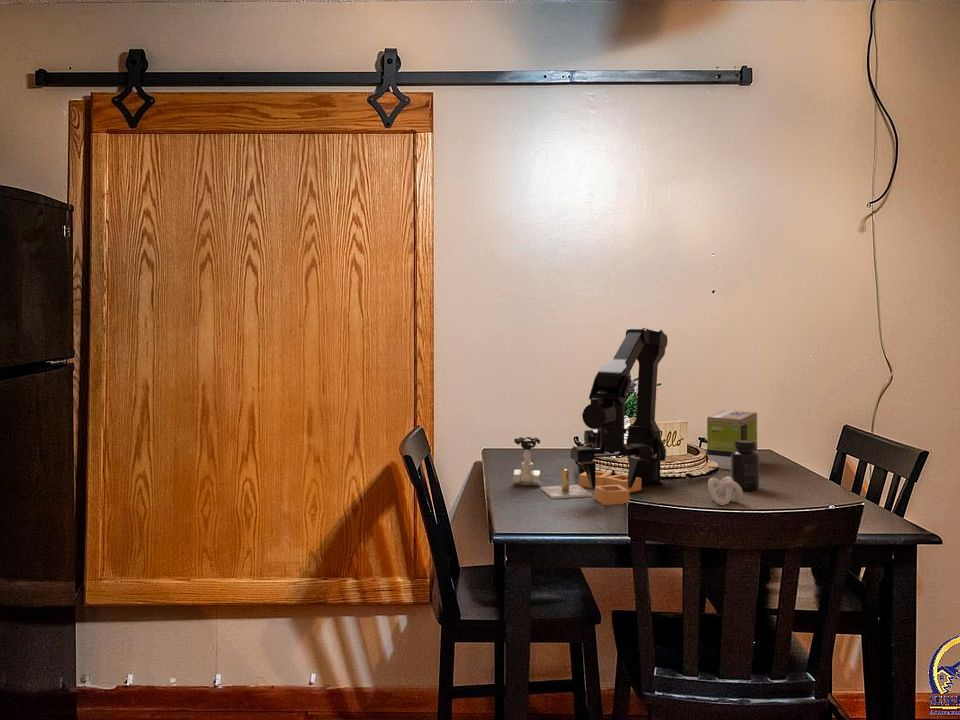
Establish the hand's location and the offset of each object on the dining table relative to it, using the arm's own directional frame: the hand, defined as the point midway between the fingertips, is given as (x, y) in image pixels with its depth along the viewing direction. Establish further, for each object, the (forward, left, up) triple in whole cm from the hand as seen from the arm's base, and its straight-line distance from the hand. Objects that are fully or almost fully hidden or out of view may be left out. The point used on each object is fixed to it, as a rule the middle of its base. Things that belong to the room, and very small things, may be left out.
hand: (611, 488), depth 190 cm
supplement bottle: (-37, -4, -3) cm, 37 cm away
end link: (0, 0, -3) cm, 3 cm away
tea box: (-49, -31, -3) cm, 58 cm away
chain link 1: (-2, -16, -3) cm, 16 cm away
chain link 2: (-7, -10, -3) cm, 12 cm away
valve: (+15, -20, -3) cm, 25 cm away
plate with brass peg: (+8, -10, -3) cm, 13 cm away
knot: (-25, +7, -3) cm, 26 cm away
